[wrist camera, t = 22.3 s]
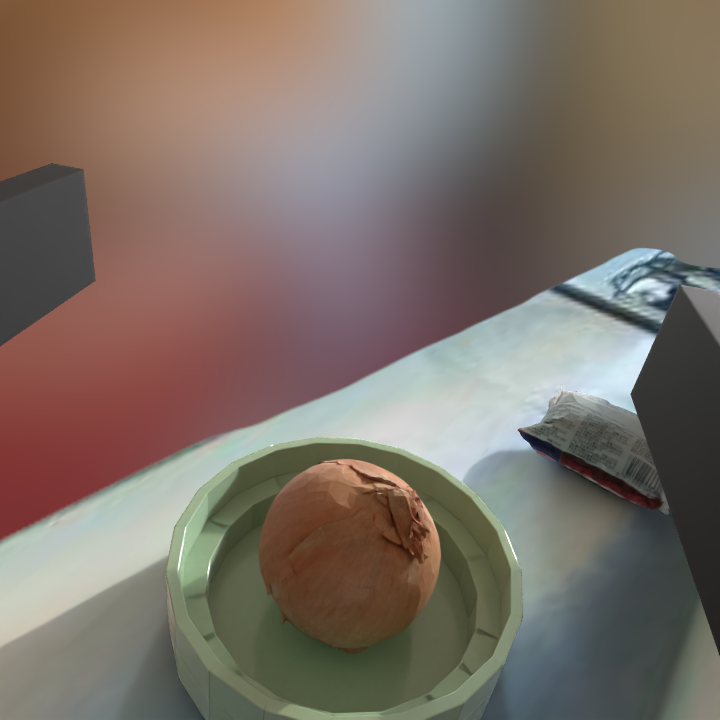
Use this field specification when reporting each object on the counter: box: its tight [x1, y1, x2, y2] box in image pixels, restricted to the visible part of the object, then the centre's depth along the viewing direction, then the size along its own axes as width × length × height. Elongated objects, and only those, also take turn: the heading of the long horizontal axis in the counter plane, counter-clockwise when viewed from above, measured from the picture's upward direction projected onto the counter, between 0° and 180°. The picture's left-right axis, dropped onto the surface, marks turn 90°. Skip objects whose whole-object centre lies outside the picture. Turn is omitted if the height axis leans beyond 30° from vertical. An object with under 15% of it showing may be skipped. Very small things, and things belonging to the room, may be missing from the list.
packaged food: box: [518, 385, 669, 515], centre depth 47 cm, size 9×12×5 cm
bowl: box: [165, 437, 523, 720], centre depth 33 cm, size 18×18×5 cm
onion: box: [259, 459, 441, 655], centre depth 32 cm, size 10×9×10 cm
